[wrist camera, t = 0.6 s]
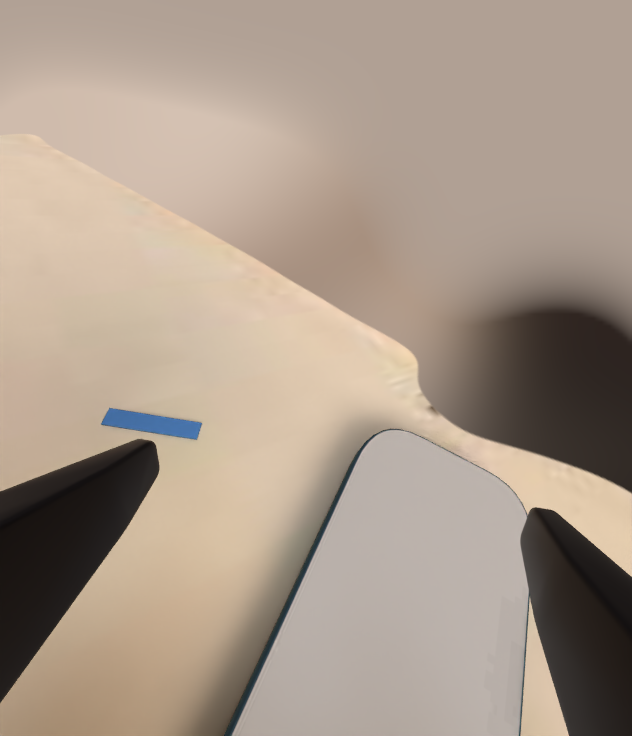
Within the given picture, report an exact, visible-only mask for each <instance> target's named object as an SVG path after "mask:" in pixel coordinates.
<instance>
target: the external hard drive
mask: <svg viewBox="0 0 632 736" xmlns="http://www.w3.org/2000/svg"><path fill="white" fill-rule="evenodd" d="M527 517H528V515H527V513H526V511H525V508H524V506H523V504H522V502H521V501H520V499H519V498H518V496H517V495H516V493H515V492H514V491H513V490H512V489H511V488H510V487H509V486H508V485H507V484H506V483H505V482H503V481H502V480H501V479H500V478H498V477H497V476H495V475H493V474H492V473H490V472H488V471H487V470H485V469H483V468H481V467H479V466H477V465H475V464H473V463H471V462H469V461H467V460H465V459H463V458H462V457H460V456H458V455H456V454H454V453H452V452H450V451H448V450H446V449H444V448H442V447H440V446H438V445H436V444H434V443H433V442H431V441H429V440H427V439H425V438H423V437H421V436H418V435H416V434H414V433H412V432H408V431H404V430H401V429H388V430H383V431H381V432H379V433H377V434H375V435H373V436H372V437H371V438H370V439H368V440H367V441H366V442H365V443H364V444H363V446H362V447H361V448H360V450H359V451H358V452H357V454H356V455H355V457H354V459H353V461H352V463H351V465H350V466H349V469H348V471H347V473H346V475H345V477H344V479H343V481H342V484H341V486H340V488H339V490H338V492H337V494H336V496H335V499H334V501H333V503H332V505H331V507H330V509H329V511H328V514H327V516H326V518H325V520H324V522H323V524H322V526H321V529H320V531H319V533H318V535H317V537H316V539H315V541H314V544H313V546H312V548H311V550H310V552H309V554H308V556H307V558H306V561H305V563H304V565H303V567H302V569H301V571H300V573H299V576H298V578H297V580H296V582H295V584H294V586H293V588H292V591H291V593H290V595H289V597H288V599H287V601H286V603H285V606H284V608H283V610H282V612H281V614H280V616H279V618H278V621H277V623H276V625H275V627H274V629H273V631H272V633H271V636H270V638H269V640H268V642H267V644H266V646H265V648H264V650H263V653H262V655H261V657H260V659H259V661H258V663H257V665H256V668H255V670H254V672H253V674H252V676H251V678H250V680H249V683H248V685H247V687H246V689H245V691H244V693H243V695H242V698H241V700H240V702H239V704H238V706H237V708H236V710H235V713H234V715H233V717H232V719H231V721H230V723H229V725H228V728H227V730H226V732H225V734H224V736H520V732H521V717H522V702H523V687H524V672H525V657H526V642H527V627H528V612H529V597H530V593H529V588H528V583H527V578H526V572H525V567H524V562H523V557H522V551H521V546H520V537H521V533H522V530H523V527H524V525H525V522H526V519H527Z"/></svg>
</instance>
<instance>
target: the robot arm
mask: <svg viewBox="0 0 632 736" xmlns="http://www.w3.org/2000/svg"><path fill="white" fill-rule="evenodd" d="M158 473H159V461H158V455H157V449H156V445H155V443H154V442H153V441H149V440H143V439H137V440H134V441H131V442H129V443H126V444H123V445H121V446H118V447H116V448H113V449H110V450H108V451H105V452H103V453H100V454H97V455H95V456H92V457H89V458H87V459H84V460H82V461H79V462H76V463H74V464H71V465H69V466H66V467H63V468H61V469H58V470H55V471H53V472H50V473H48V474H45V475H42V476H40V477H37V478H35V479H32V480H29V481H27V482H24V483H22V484H19V485H16V486H14V487H11V488H8V489H6V490H3V491H1V492H0V703H1V701H2V700H3V699H4V697H5V696H6V695H7V693H8V692H9V690H10V689H11V688H12V686H13V685H14V683H15V682H16V681H17V679H18V678H19V677H20V675H21V674H22V672H23V671H24V670H25V668H26V667H27V666H28V664H29V663H30V661H31V660H32V659H33V657H34V656H35V654H36V653H37V652H38V650H39V649H40V648H41V646H42V645H43V643H44V642H45V641H46V639H47V638H48V636H49V635H50V634H51V632H52V631H53V630H54V628H55V627H56V625H57V624H58V623H59V621H60V620H61V618H62V617H63V616H64V614H65V613H66V612H67V610H68V609H69V607H70V606H71V605H72V603H73V602H74V600H75V599H76V598H77V596H78V595H79V594H80V592H81V591H82V589H83V588H84V587H85V585H86V584H87V582H88V581H89V580H90V578H91V577H92V576H93V574H94V573H95V571H96V570H97V569H98V567H99V566H100V565H101V563H102V562H103V560H104V559H105V558H106V556H107V555H108V553H109V552H110V551H111V549H112V548H113V547H114V545H115V544H116V542H117V541H118V540H119V538H120V537H121V535H122V534H123V532H124V531H125V530H126V528H127V526H128V525H129V523H130V522H131V520H132V518H133V517H134V515H135V513H136V512H137V510H138V508H139V506H140V505H141V503H142V501H143V500H144V498H145V496H146V495H147V493H148V491H149V490H150V488H151V486H152V484H153V483H154V481H155V479H156V478H157V476H158ZM520 546H521V551H522V557H523V562H524V567H525V572H526V578H527V583H528V588H529V593H530V599H531V604H532V609H533V614H534V618H535V622H536V626H537V630H538V633H539V637H540V640H541V643H542V647H543V650H544V653H545V657H546V660H547V663H548V667H549V670H550V673H551V677H552V680H553V683H554V687H555V690H556V693H557V697H558V700H559V703H560V707H561V710H562V713H563V717H564V720H565V723H566V727H567V730H568V733H569V736H632V577H631V576H630V575H629V574H628V573H626V572H625V571H624V570H623V569H622V568H621V567H619V566H618V565H617V564H616V563H615V562H614V561H612V560H611V559H610V558H609V557H608V556H607V555H605V554H604V553H603V552H602V551H601V550H600V549H598V548H597V547H596V546H595V545H594V544H593V543H591V542H590V541H589V540H588V539H587V538H586V537H584V536H583V535H582V534H581V533H580V532H579V531H577V530H576V529H575V528H574V527H573V526H572V525H570V524H569V523H568V522H567V521H566V520H565V519H563V518H562V517H561V516H560V515H559V514H557V513H556V512H555V511H552V510H548V509H542V508H536V507H535V508H532V509H531V510H530V512H529V514H528V517H527V519H526V522H525V525H524V527H523V530H522V533H521V537H520Z"/></svg>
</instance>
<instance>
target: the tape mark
mask: <svg viewBox="0 0 632 736" xmlns="http://www.w3.org/2000/svg"><path fill="white" fill-rule="evenodd" d="M101 424H102V425H107V426H114V427H120V428H126V429H133V430H139V431H145V432H152V433H158V434H164V435H171V436H177V437H183V438H190V439H196V440H197V437H198V434H199V431H200V428H201V425H202V423H199V422H193V421H186V420H180V419H174V418H168V417H162V416H155V415H149V414H143V413H137V412H131V411H124V410H118V409H112V408H109V410H108V412H107V414H106V416H105V418H104V420H103V421H102V423H101Z"/></svg>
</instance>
